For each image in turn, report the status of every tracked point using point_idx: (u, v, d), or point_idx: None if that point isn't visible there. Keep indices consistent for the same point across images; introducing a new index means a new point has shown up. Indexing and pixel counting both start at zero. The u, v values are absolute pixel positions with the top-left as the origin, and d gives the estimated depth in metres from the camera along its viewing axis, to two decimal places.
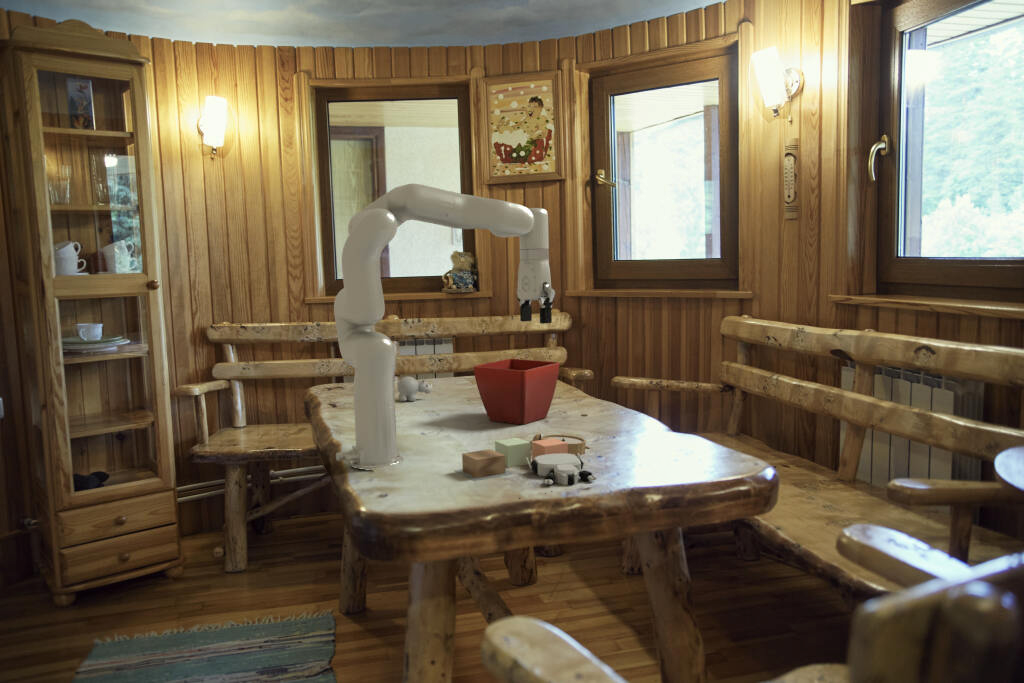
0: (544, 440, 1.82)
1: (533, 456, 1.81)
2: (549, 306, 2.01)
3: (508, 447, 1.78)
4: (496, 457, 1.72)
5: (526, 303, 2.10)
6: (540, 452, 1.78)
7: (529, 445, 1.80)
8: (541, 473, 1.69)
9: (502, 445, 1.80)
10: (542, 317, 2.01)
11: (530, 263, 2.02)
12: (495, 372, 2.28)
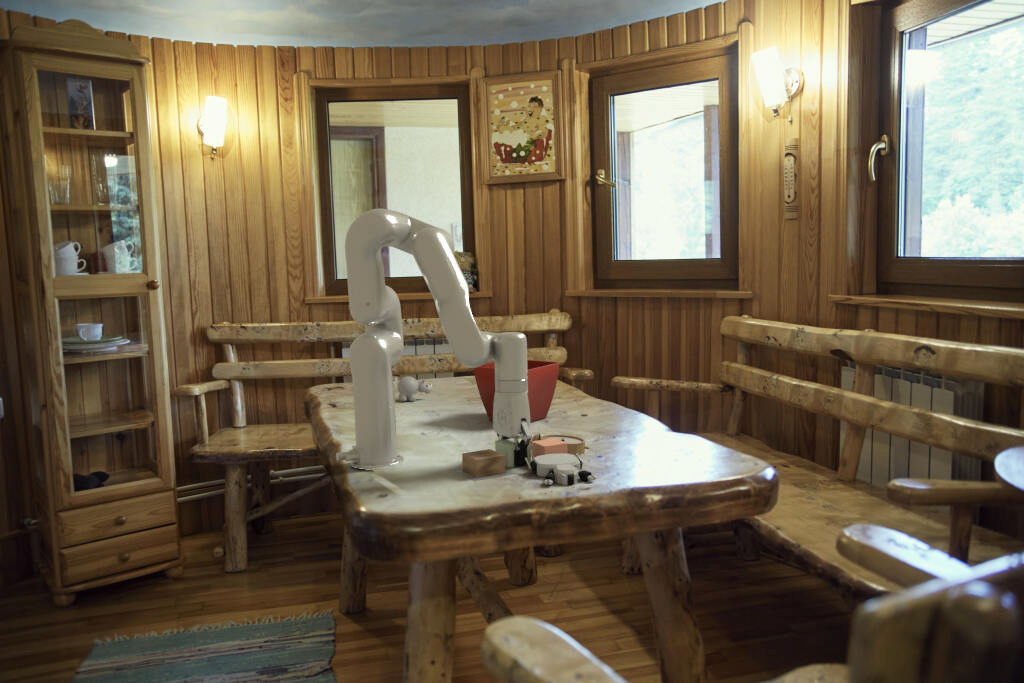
0: (544, 440, 1.82)
1: (533, 456, 1.81)
2: (524, 449, 1.78)
3: (508, 447, 1.78)
4: (496, 457, 1.72)
5: None
6: (540, 452, 1.78)
7: (529, 445, 1.80)
8: (540, 473, 1.69)
9: (502, 445, 1.80)
10: (517, 461, 1.78)
11: (506, 396, 1.77)
12: None
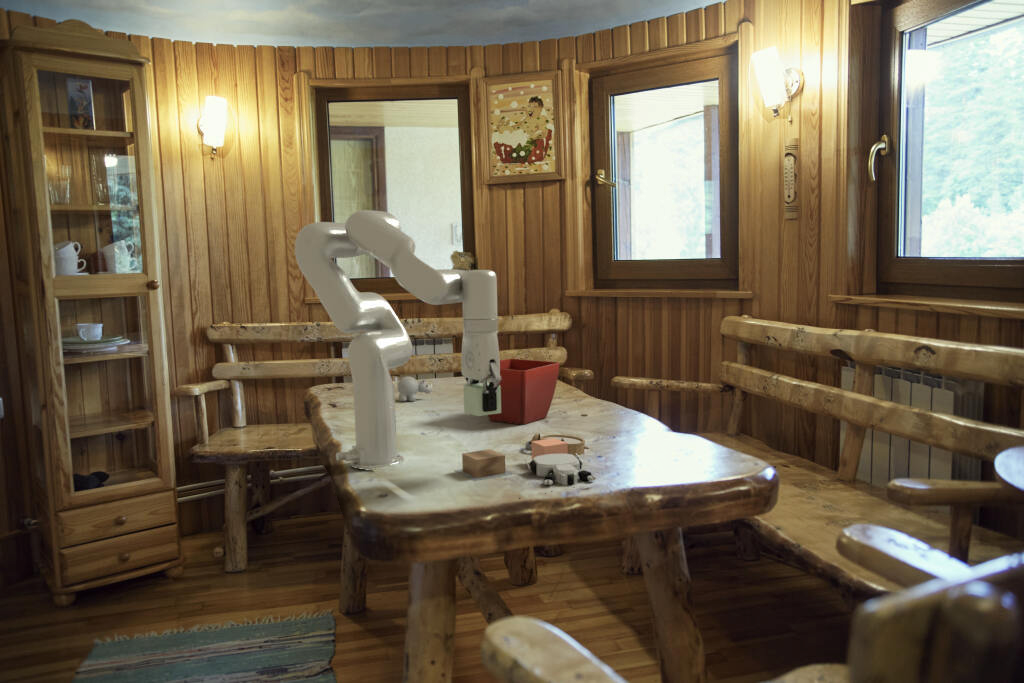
0: (544, 440, 1.82)
1: (533, 456, 1.81)
2: (493, 392, 1.69)
3: (477, 390, 1.69)
4: (496, 457, 1.72)
5: None
6: (540, 452, 1.78)
7: (499, 388, 1.71)
8: (540, 473, 1.69)
9: (471, 388, 1.71)
10: (485, 405, 1.69)
11: (474, 336, 1.68)
12: None
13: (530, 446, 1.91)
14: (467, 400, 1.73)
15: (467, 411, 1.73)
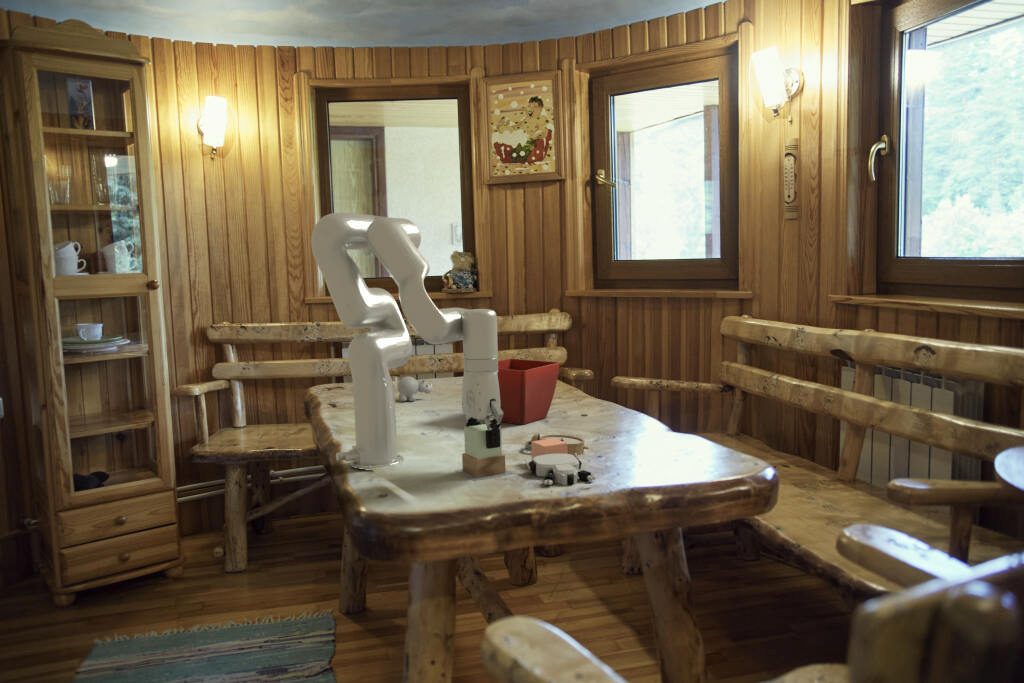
0: (544, 440, 1.82)
1: (533, 456, 1.81)
2: (497, 428, 1.68)
3: (477, 433, 1.69)
4: (496, 457, 1.72)
5: (473, 418, 1.77)
6: (540, 452, 1.78)
7: None
8: (540, 473, 1.69)
9: (471, 431, 1.71)
10: (489, 442, 1.69)
11: (475, 376, 1.69)
12: None
13: (530, 446, 1.91)
14: (467, 443, 1.73)
15: (468, 453, 1.74)
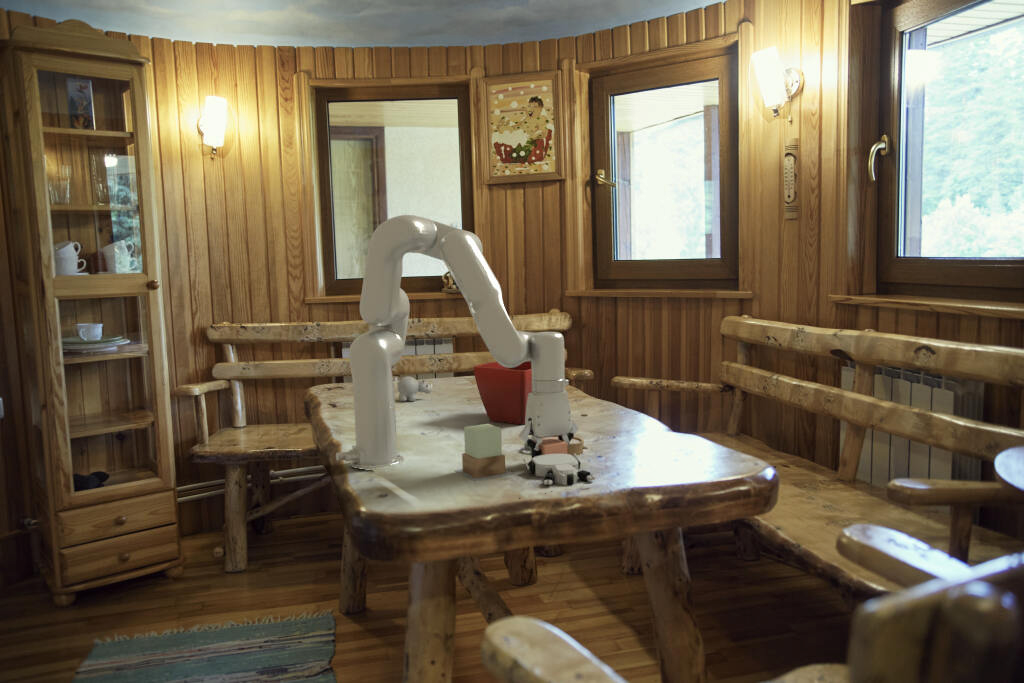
0: (544, 440, 1.82)
1: None
2: (533, 449, 1.77)
3: (477, 433, 1.69)
4: (496, 457, 1.72)
5: None
6: None
7: (499, 431, 1.72)
8: (539, 474, 1.69)
9: (471, 431, 1.71)
10: None
11: None
12: (495, 372, 2.28)
13: None
14: (467, 443, 1.73)
15: (468, 453, 1.74)
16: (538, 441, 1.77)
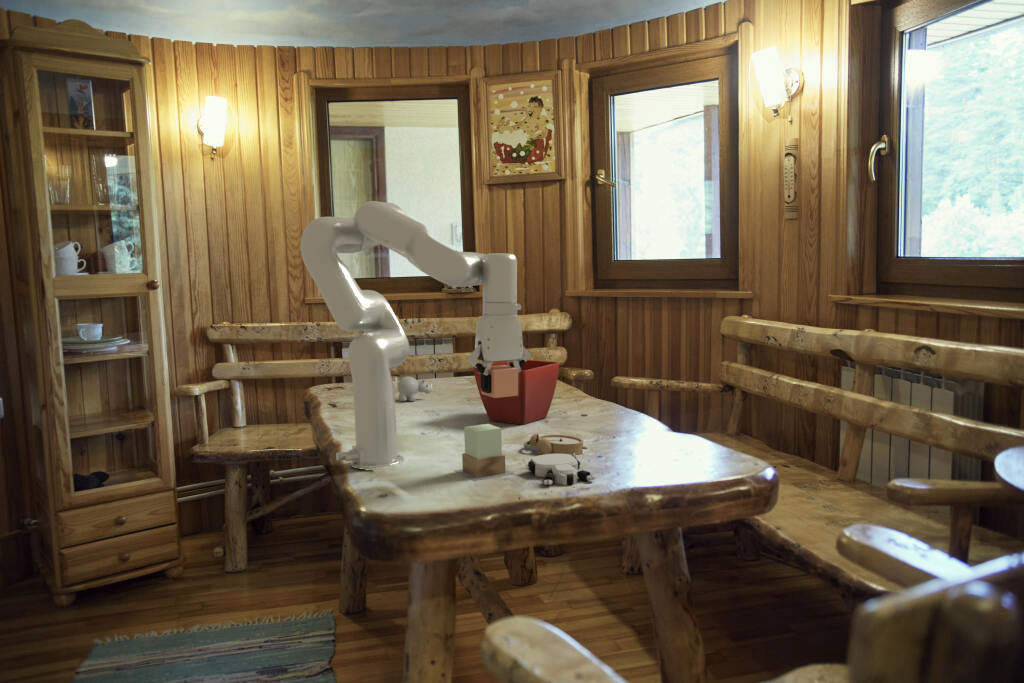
0: (494, 366, 1.76)
1: None
2: (482, 374, 1.71)
3: (477, 433, 1.69)
4: (496, 457, 1.72)
5: None
6: None
7: (499, 431, 1.72)
8: (539, 473, 1.69)
9: (471, 431, 1.71)
10: None
11: None
12: None
13: (528, 446, 1.91)
14: (467, 443, 1.73)
15: (468, 453, 1.74)
16: (487, 365, 1.71)
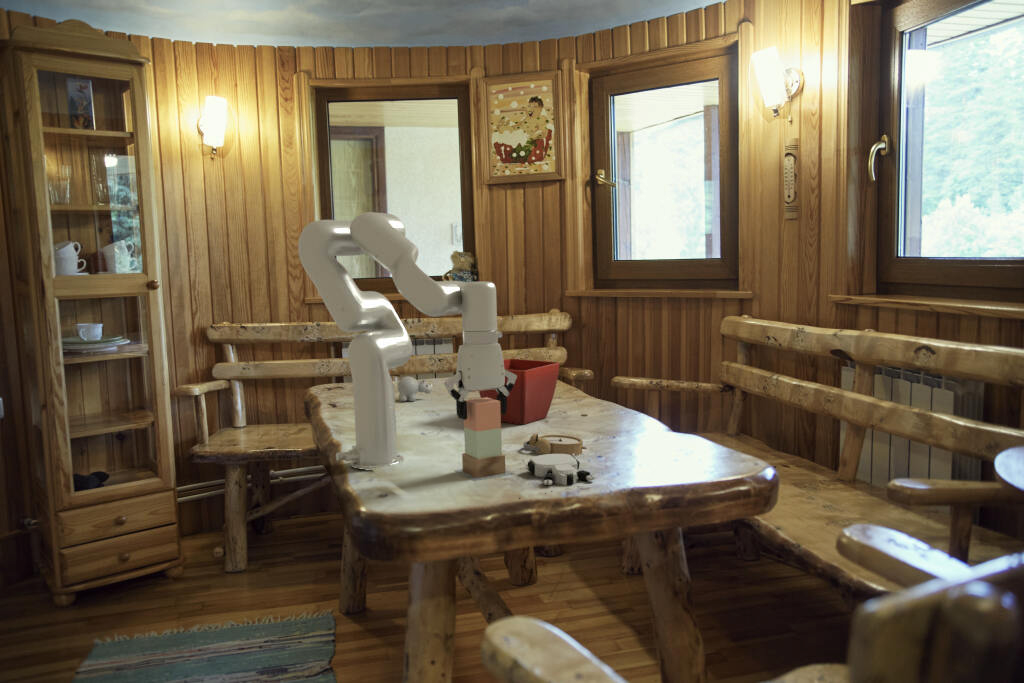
0: (477, 399, 1.75)
1: None
2: (457, 399, 1.69)
3: (477, 433, 1.69)
4: (496, 457, 1.72)
5: (501, 392, 1.75)
6: (471, 410, 1.71)
7: (499, 431, 1.72)
8: (538, 474, 1.69)
9: (471, 431, 1.71)
10: None
11: None
12: None
13: (528, 446, 1.91)
14: (467, 443, 1.73)
15: (468, 453, 1.74)
16: (464, 392, 1.69)
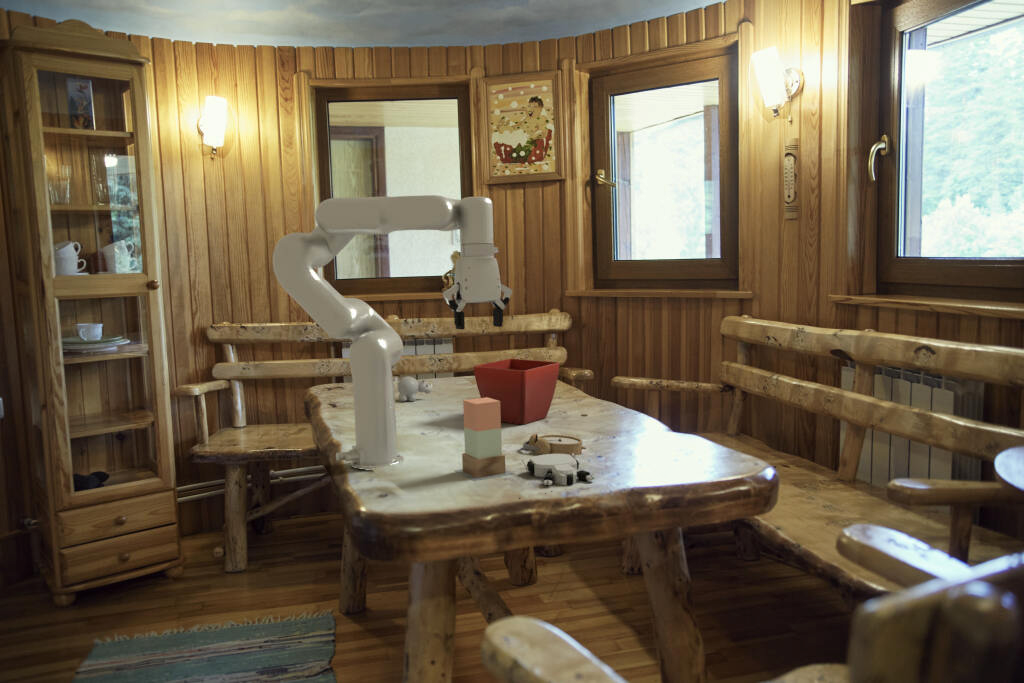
0: (477, 399, 1.75)
1: (465, 415, 1.74)
2: (455, 310, 1.76)
3: (477, 433, 1.69)
4: (496, 457, 1.72)
5: (497, 306, 1.82)
6: (471, 410, 1.71)
7: (499, 431, 1.72)
8: (538, 474, 1.69)
9: (471, 431, 1.71)
10: None
11: None
12: (495, 372, 2.28)
13: (527, 446, 1.91)
14: (467, 443, 1.73)
15: (468, 453, 1.74)
16: (462, 303, 1.76)
